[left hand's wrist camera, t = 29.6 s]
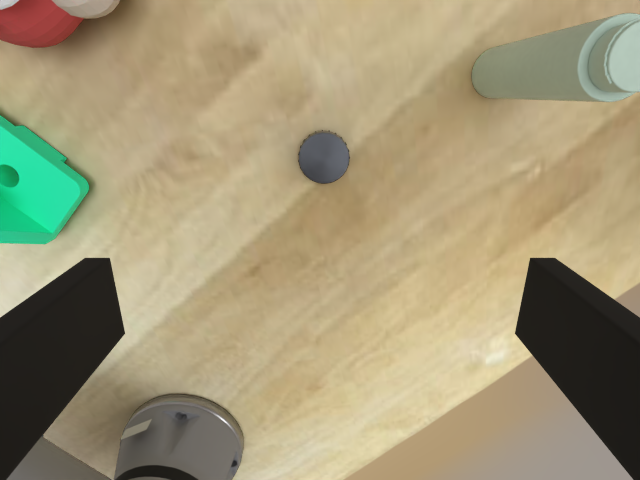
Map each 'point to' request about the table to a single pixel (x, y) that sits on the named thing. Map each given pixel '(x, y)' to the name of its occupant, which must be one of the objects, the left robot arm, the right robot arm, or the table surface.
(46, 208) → the camera mount
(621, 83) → the jar
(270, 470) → the table surface
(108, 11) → the toy
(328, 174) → the lid
